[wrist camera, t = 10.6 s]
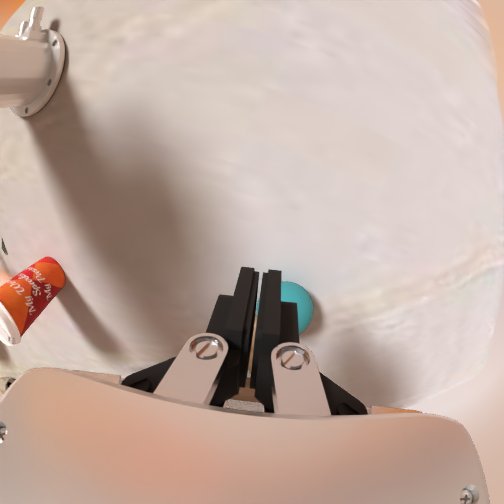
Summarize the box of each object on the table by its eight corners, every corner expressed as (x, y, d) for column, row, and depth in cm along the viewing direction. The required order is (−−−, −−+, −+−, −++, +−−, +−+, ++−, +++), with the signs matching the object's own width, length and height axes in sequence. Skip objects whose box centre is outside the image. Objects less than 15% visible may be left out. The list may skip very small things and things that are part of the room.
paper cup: (75, 272, 34) (15, 331, 22) (64, 302, 37) (15, 357, 25) (41, 239, 33) (-23, 287, 20) (33, 271, 36) (-20, 319, 23)
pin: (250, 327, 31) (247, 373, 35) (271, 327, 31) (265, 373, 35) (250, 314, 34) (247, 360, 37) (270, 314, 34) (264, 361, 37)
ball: (257, 333, 32) (245, 285, 31) (304, 317, 33) (295, 271, 32) (272, 354, 26) (258, 298, 25) (326, 334, 27) (317, 280, 26)
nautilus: (16, 369, 56) (48, 400, 62) (-3, 371, 60) (24, 398, 66) (5, 386, 48) (39, 418, 55) (-12, 385, 53) (16, 413, 59)
